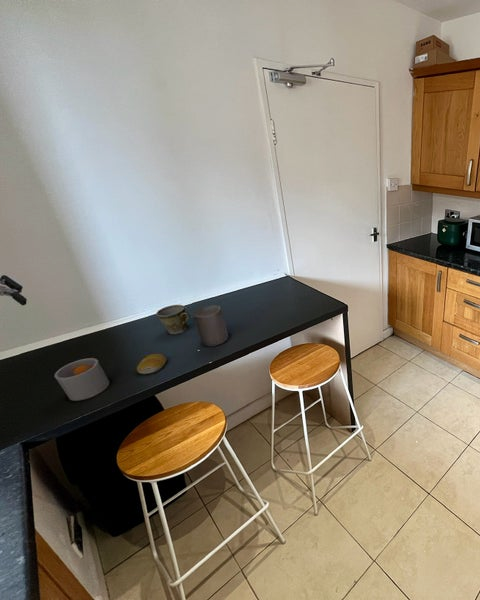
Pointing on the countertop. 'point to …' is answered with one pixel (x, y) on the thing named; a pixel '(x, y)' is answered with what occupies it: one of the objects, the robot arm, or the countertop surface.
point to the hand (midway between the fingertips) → (7, 310)
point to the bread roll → (151, 363)
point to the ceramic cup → (173, 318)
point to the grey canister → (211, 325)
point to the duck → (81, 369)
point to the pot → (82, 379)
